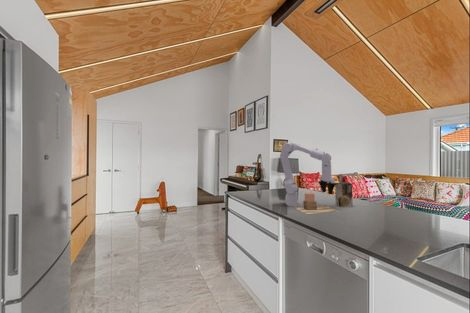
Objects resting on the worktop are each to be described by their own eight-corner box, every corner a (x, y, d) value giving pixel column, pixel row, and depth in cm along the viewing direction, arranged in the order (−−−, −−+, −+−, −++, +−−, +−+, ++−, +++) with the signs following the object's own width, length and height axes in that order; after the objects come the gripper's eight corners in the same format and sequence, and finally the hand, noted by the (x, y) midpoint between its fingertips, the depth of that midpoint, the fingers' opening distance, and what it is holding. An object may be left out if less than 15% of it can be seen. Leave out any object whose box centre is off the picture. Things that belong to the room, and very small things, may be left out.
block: (304, 200, 158) (304, 192, 158) (311, 200, 158) (311, 192, 158) (307, 202, 153) (307, 194, 153) (314, 201, 154) (314, 193, 154)
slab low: (303, 208, 158) (303, 204, 158) (312, 207, 160) (312, 203, 159) (307, 210, 153) (307, 206, 153) (316, 209, 154) (316, 205, 154)
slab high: (303, 204, 159) (303, 200, 159) (312, 203, 159) (312, 200, 159) (307, 206, 153) (307, 202, 153) (316, 205, 154) (316, 201, 153)
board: (293, 209, 162) (293, 207, 162) (324, 206, 165) (324, 205, 165) (306, 215, 144) (306, 213, 144) (340, 212, 148) (340, 211, 148)
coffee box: (349, 206, 165) (348, 182, 165) (352, 208, 159) (352, 183, 158) (335, 206, 166) (334, 182, 166) (338, 208, 160) (337, 183, 159)
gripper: (338, 172, 151) (339, 194, 152) (326, 171, 166) (326, 191, 166) (328, 173, 150) (328, 195, 150) (316, 171, 164) (317, 191, 165)
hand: (327, 193), depth 158 cm, fingers open, 7 cm apart
